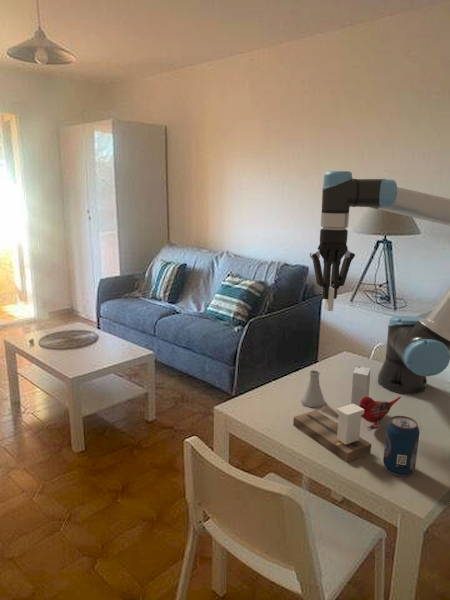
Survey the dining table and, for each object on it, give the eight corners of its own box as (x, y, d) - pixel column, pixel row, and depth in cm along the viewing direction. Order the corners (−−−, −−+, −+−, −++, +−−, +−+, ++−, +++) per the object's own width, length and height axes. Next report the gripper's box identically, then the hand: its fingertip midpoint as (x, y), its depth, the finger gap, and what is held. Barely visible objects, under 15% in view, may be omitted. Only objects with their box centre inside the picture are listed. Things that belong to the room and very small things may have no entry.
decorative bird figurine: (352, 431, 122) (355, 397, 120) (394, 414, 132) (398, 382, 129) (360, 436, 120) (363, 401, 117) (403, 418, 129) (406, 385, 127)
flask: (325, 409, 134) (327, 377, 132) (300, 407, 135) (301, 375, 133) (324, 398, 141) (327, 368, 139) (301, 396, 142) (302, 366, 140)
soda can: (382, 457, 110) (387, 412, 107) (413, 463, 108) (418, 416, 106) (383, 474, 104) (388, 426, 101) (416, 480, 102) (422, 431, 99)
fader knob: (334, 439, 113) (336, 408, 111) (350, 433, 116) (353, 403, 114) (344, 446, 110) (347, 414, 108) (361, 439, 113) (364, 409, 111)
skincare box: (365, 415, 131) (369, 375, 128) (349, 412, 133) (352, 373, 130) (368, 406, 136) (372, 368, 133) (353, 403, 138) (356, 365, 135)
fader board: (293, 425, 125) (293, 416, 124) (315, 418, 129) (316, 409, 128) (346, 462, 108) (347, 452, 108) (370, 453, 112) (371, 443, 112)
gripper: (350, 227, 133) (344, 305, 139) (307, 227, 131) (303, 307, 136) (362, 229, 126) (355, 312, 132) (317, 229, 124) (312, 314, 129)
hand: (328, 309), depth 134 cm, fingers closed
